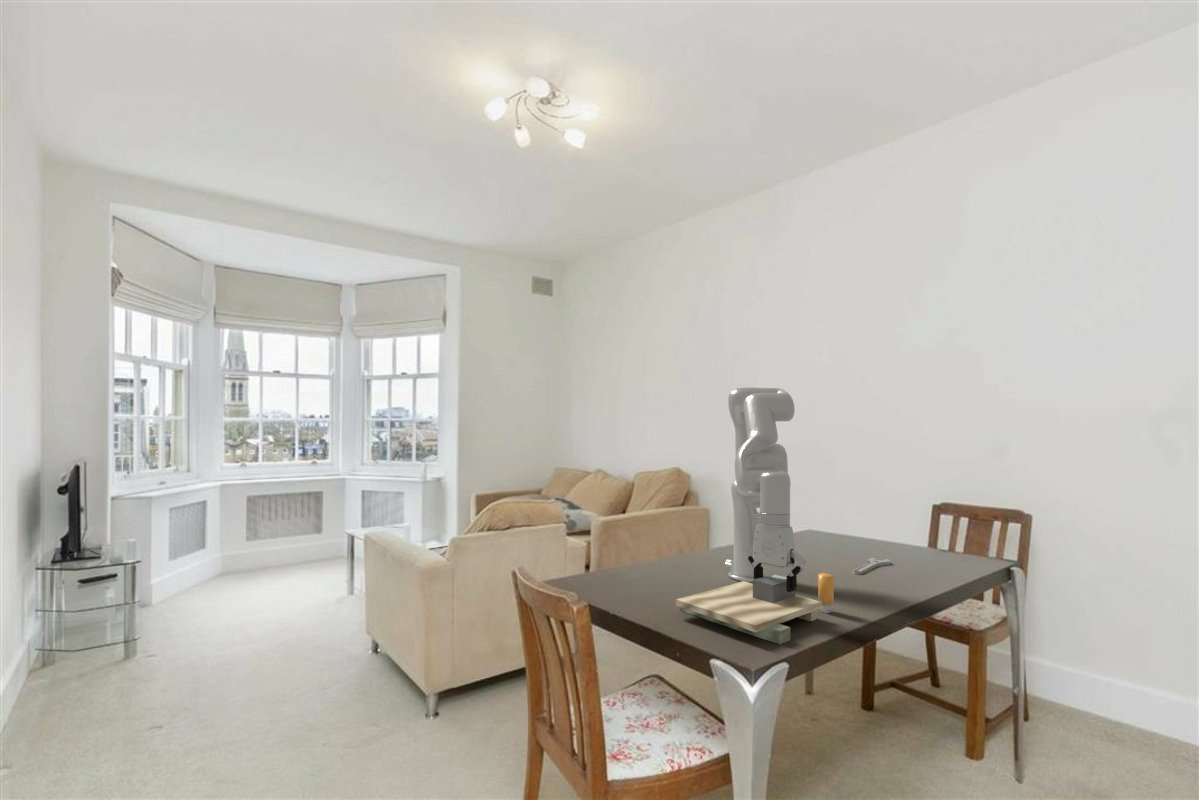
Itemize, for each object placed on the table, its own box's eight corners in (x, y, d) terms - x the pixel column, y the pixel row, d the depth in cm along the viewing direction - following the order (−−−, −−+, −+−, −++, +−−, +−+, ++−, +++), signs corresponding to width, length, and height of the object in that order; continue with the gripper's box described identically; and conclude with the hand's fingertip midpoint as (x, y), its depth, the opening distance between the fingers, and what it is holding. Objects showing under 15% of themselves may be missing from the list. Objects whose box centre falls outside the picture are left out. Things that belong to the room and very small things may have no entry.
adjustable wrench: (859, 576, 197) (859, 571, 197) (840, 573, 201) (840, 567, 201) (892, 564, 213) (892, 559, 213) (874, 561, 218) (874, 556, 218)
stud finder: (752, 597, 155) (752, 579, 155) (775, 590, 161) (775, 573, 162) (772, 603, 150) (773, 584, 150) (795, 596, 157) (795, 578, 157)
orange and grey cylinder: (815, 611, 159) (815, 574, 159) (822, 608, 161) (823, 572, 162) (828, 614, 156) (829, 577, 156) (836, 612, 159) (836, 575, 159)
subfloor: (666, 614, 155) (666, 596, 155) (734, 594, 173) (734, 578, 173) (767, 650, 132) (767, 629, 132) (833, 623, 150) (833, 604, 150)
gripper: (738, 516, 161) (737, 582, 160) (796, 525, 147) (796, 597, 147) (755, 514, 165) (755, 577, 165) (813, 523, 152) (813, 592, 151)
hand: (774, 586), depth 156 cm, fingers open, 9 cm apart
